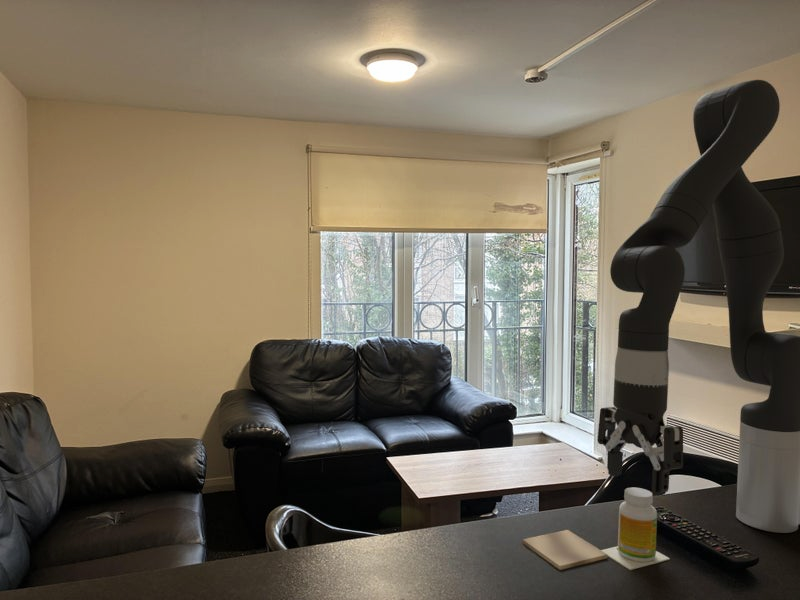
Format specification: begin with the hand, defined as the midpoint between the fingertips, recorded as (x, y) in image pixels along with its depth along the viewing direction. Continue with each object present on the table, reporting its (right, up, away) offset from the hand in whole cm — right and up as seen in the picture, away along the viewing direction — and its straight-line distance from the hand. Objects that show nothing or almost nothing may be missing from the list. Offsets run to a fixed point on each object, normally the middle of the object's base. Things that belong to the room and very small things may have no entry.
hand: (635, 484), depth 88 cm
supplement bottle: (0, -11, +1) cm, 11 cm away
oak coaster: (-10, -11, +2) cm, 15 cm away
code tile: (0, -11, +1) cm, 11 cm away
